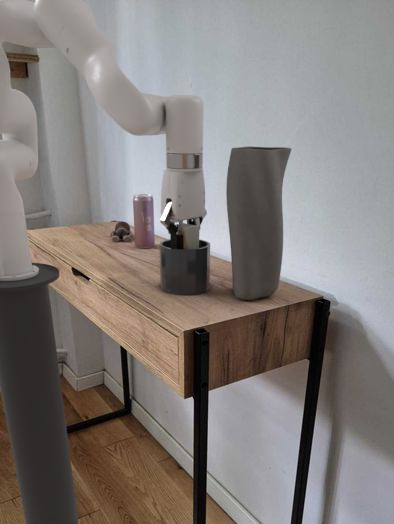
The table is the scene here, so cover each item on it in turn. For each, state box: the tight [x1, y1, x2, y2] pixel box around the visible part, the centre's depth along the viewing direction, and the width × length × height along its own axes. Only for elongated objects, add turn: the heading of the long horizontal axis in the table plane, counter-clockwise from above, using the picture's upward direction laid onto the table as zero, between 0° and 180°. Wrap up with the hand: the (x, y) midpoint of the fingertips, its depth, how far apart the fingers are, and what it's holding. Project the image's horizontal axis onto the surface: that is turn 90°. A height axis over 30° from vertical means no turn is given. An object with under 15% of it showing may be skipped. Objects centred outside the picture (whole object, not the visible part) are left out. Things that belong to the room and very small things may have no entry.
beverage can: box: [132, 193, 156, 249], centre depth 144 cm, size 6×6×15 cm
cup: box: [158, 239, 211, 296], centre depth 109 cm, size 11×11×10 cm
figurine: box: [108, 221, 135, 243], centre depth 156 cm, size 8×5×10 cm
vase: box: [225, 146, 292, 301], centre depth 100 cm, size 12×12×30 cm
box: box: [175, 222, 201, 249], centre depth 108 cm, size 5×4×11 cm
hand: (184, 249), depth 107 cm, fingers closed on box, 4 cm apart
